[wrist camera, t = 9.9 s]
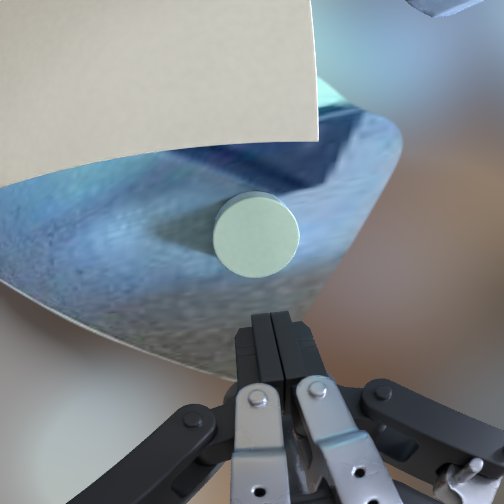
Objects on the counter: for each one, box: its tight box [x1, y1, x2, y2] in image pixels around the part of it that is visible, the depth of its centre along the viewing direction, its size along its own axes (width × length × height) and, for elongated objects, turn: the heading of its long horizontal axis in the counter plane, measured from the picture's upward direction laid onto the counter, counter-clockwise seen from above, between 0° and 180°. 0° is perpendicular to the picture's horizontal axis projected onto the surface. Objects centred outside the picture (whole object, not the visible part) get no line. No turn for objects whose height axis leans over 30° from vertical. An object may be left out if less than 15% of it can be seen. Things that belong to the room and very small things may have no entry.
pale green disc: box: [213, 191, 299, 278], centre depth 21 cm, size 6×6×2 cm
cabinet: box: [0, 0, 319, 188], centre depth 11 cm, size 16×14×9 cm
